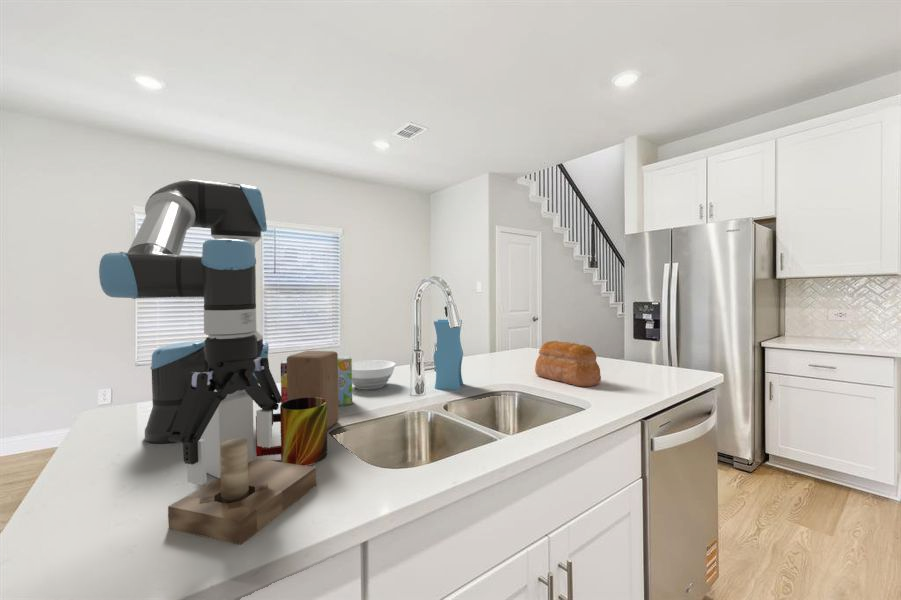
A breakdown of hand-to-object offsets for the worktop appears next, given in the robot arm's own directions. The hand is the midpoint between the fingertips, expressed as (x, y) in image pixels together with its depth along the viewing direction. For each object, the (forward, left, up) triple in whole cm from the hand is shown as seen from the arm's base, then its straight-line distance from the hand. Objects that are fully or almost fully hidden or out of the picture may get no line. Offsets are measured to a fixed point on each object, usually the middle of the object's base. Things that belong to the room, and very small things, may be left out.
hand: (234, 462), depth 66 cm
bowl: (-20, +83, -9) cm, 85 cm away
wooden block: (-13, +39, -9) cm, 42 cm away
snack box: (-24, +56, -9) cm, 61 cm away
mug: (-4, +20, -9) cm, 23 cm away
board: (0, +3, -8) cm, 9 cm away
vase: (+9, +91, -9) cm, 92 cm away
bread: (+52, +114, -9) cm, 125 cm away
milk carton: (-15, +13, -9) cm, 21 cm away
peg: (0, 0, -9) cm, 9 cm away
